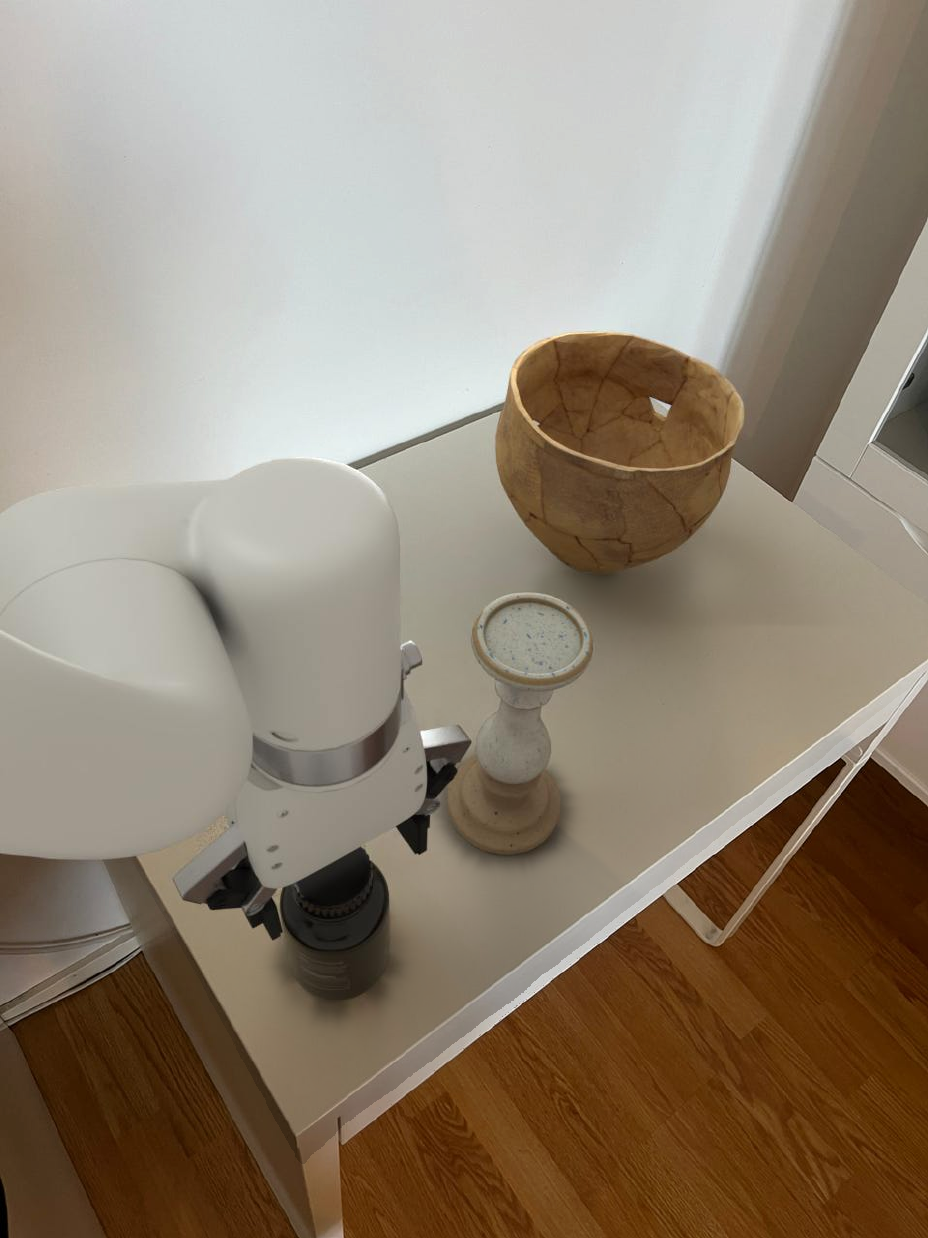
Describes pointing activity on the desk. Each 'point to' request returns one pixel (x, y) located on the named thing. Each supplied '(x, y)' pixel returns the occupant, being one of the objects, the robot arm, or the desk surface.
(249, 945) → the desk surface
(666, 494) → the bowl
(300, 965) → the supplement bottle
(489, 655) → the candle holder
